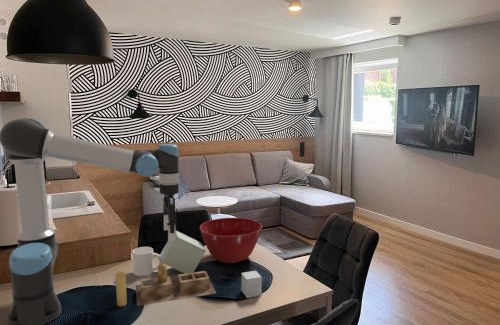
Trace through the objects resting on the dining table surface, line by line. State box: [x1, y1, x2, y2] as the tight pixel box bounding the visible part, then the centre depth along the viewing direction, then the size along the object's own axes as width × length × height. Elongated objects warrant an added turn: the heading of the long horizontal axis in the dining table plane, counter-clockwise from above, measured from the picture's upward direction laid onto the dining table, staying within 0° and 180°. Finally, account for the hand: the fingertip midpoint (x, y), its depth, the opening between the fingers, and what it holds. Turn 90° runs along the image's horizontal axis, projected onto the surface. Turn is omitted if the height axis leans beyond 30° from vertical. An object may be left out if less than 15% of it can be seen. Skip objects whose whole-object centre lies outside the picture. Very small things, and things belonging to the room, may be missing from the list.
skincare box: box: [241, 270, 263, 299], centre depth 139 cm, size 6×6×7 cm
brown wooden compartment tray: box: [135, 263, 217, 307], centre depth 139 cm, size 28×16×11 cm, turn 109°
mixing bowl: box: [199, 217, 263, 264], centre depth 172 cm, size 28×28×16 cm
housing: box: [159, 230, 207, 274], centre depth 156 cm, size 14×10×12 cm
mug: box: [132, 246, 163, 277], centre depth 154 cm, size 12×8×10 cm
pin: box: [115, 271, 128, 307], centre depth 128 cm, size 3×3×12 cm
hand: (169, 235), depth 149 cm, fingers open, 13 cm apart
